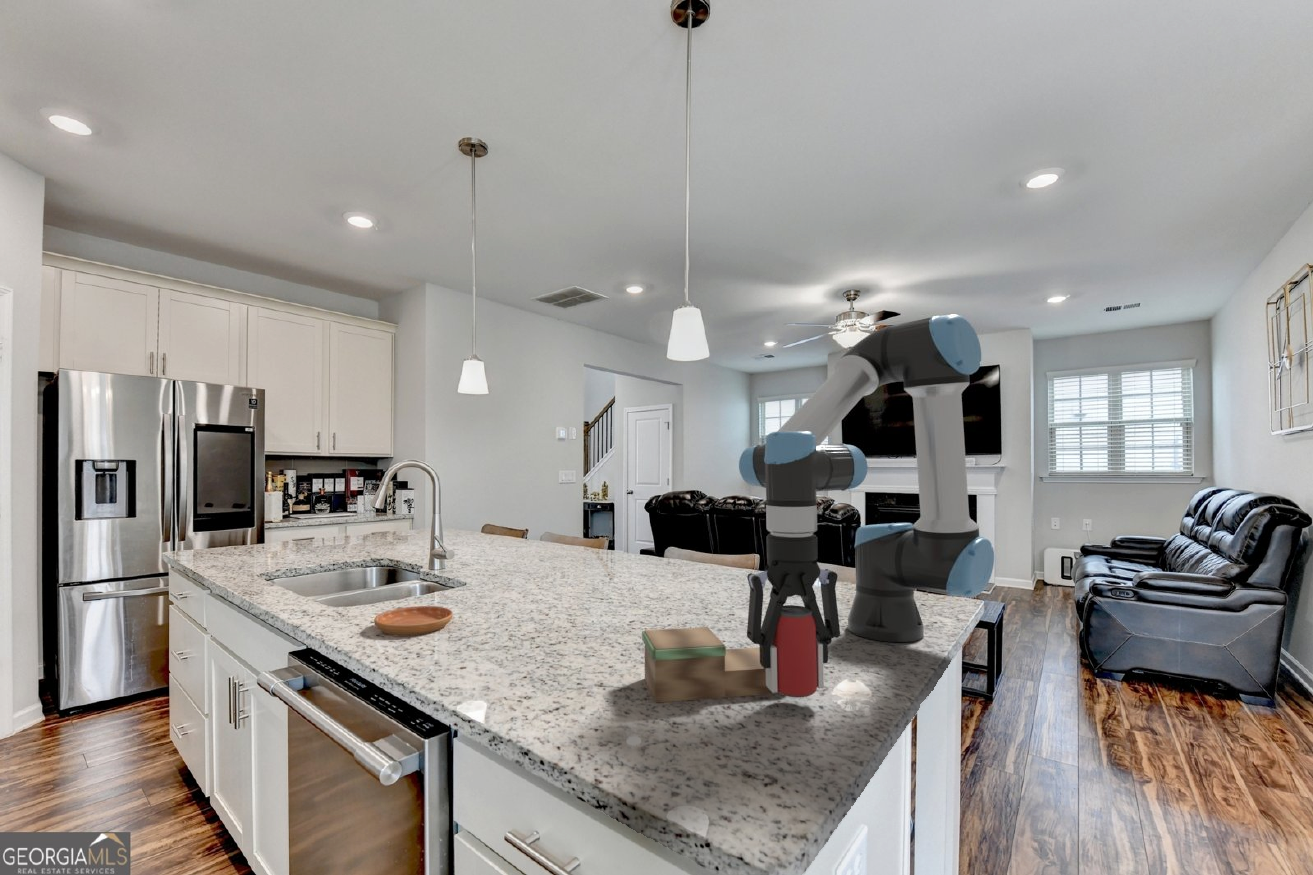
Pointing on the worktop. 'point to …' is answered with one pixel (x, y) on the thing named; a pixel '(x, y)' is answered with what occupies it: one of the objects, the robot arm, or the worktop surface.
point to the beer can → (796, 652)
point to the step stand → (699, 666)
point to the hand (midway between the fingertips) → (794, 686)
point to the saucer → (413, 620)
